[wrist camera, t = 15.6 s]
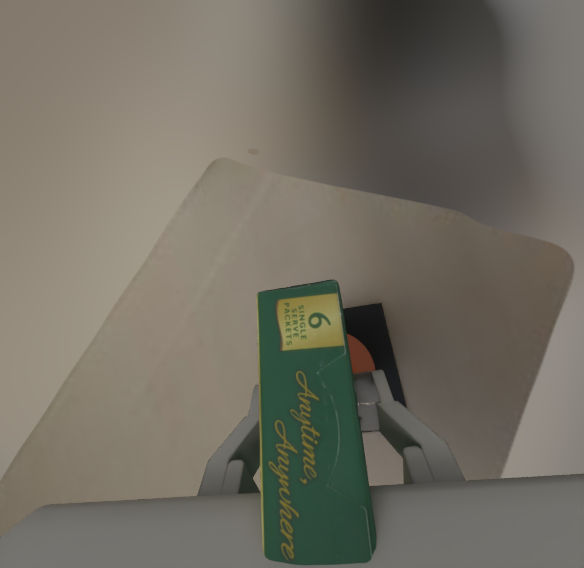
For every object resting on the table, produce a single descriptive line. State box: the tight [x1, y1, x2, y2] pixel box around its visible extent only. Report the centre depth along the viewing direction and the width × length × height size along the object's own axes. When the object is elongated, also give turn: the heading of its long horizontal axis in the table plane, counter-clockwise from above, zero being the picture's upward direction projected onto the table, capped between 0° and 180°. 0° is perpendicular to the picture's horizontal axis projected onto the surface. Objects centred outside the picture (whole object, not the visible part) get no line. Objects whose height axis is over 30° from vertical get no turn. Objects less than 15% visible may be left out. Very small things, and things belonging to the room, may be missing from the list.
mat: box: [343, 303, 406, 432], centre depth 35 cm, size 16×16×1 cm
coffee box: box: [257, 280, 377, 565], centre depth 13 cm, size 8×3×13 cm, turn 7°
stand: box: [347, 334, 375, 373], centre depth 31 cm, size 10×10×8 cm
